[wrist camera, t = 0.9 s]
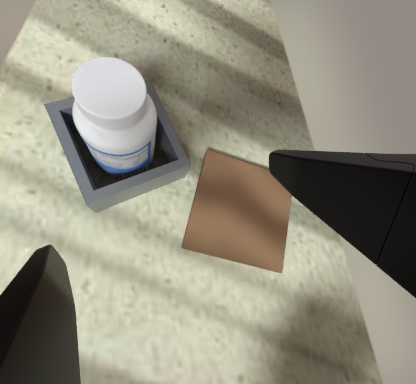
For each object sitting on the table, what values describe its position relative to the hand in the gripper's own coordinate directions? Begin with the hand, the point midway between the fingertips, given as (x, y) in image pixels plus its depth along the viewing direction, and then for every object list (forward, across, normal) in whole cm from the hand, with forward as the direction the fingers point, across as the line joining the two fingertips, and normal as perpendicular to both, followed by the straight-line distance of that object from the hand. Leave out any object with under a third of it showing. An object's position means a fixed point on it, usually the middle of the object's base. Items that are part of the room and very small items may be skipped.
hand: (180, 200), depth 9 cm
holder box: (+15, 0, +3) cm, 15 cm away
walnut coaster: (+8, -8, +10) cm, 16 cm away
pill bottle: (+15, 0, +3) cm, 16 cm away
